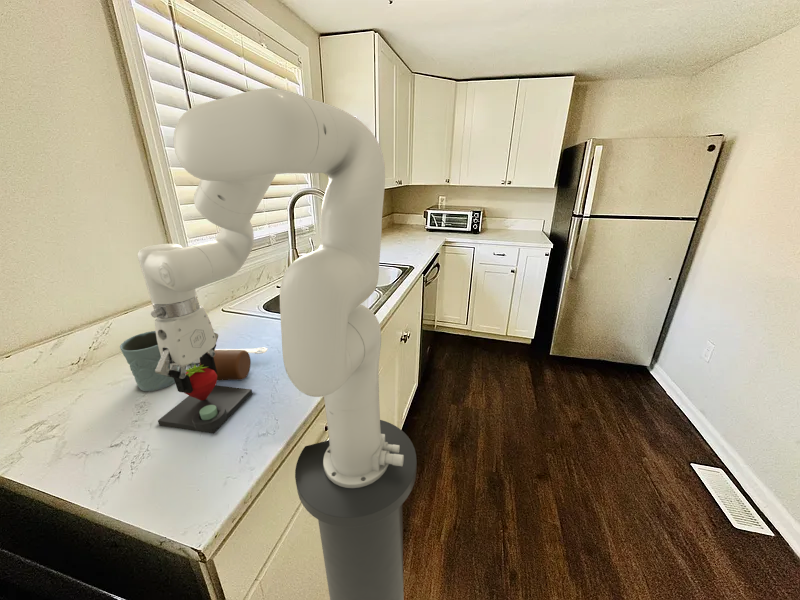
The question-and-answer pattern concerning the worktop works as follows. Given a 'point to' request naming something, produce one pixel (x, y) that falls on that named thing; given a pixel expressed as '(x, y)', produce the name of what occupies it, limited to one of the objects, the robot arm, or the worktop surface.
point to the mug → (231, 364)
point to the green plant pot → (145, 361)
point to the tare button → (208, 412)
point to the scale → (190, 407)
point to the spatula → (256, 350)
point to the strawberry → (201, 381)
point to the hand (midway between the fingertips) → (198, 381)
